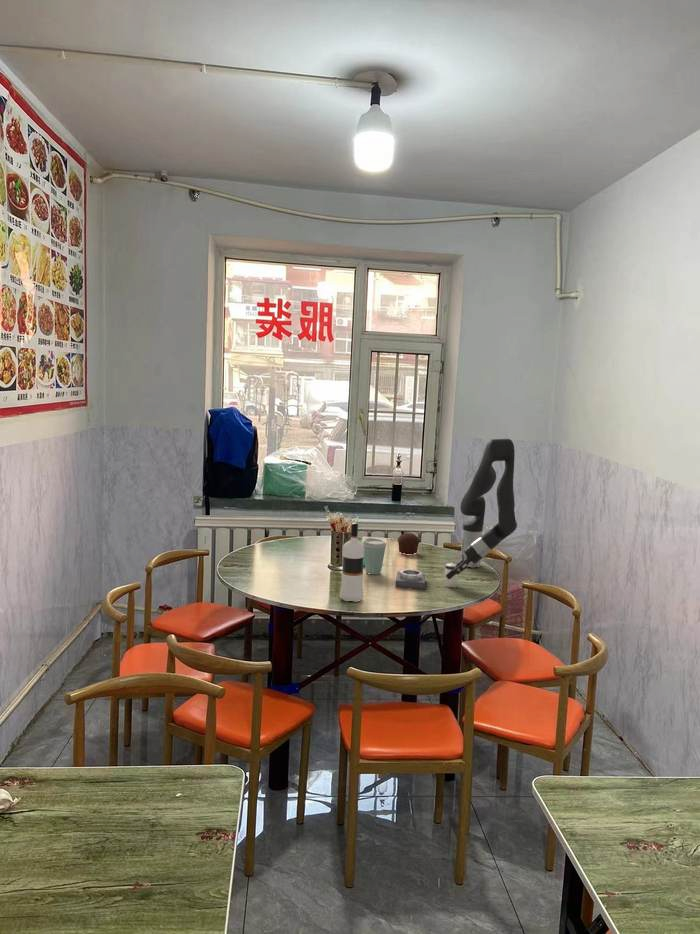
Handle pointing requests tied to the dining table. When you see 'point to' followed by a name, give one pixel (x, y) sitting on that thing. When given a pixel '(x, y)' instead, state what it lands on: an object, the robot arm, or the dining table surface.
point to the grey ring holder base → (410, 579)
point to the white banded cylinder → (454, 579)
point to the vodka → (352, 567)
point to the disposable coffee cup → (373, 555)
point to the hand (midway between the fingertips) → (447, 575)
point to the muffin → (408, 543)
